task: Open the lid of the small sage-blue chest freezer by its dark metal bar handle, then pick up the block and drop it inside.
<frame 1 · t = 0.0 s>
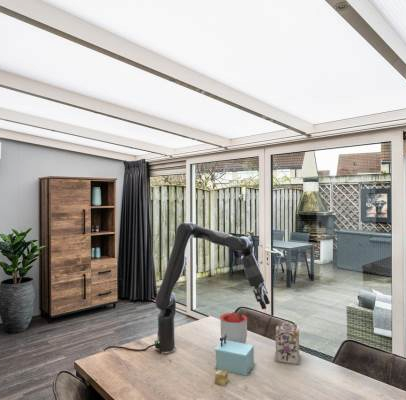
hand: (266, 306, 162), 31 cm above the table, tool tilted 20°, fingers open, 8 cm apart
chest freezer: (235, 366, 166), on the table
decorative jar: (287, 358, 174), on the table
freezer lid: (234, 343, 167), point 12 cm above the table, hinge at 0.0°
citrus juicer: (234, 346, 190), on the table
block: (221, 382, 151), on the table
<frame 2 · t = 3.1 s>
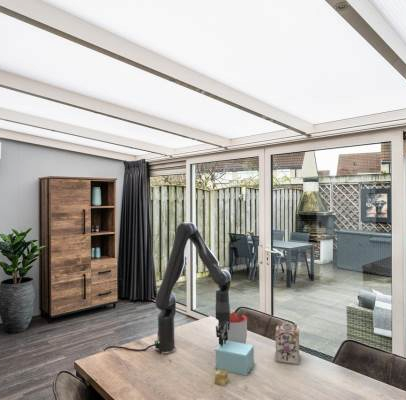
hand: (223, 342, 169), 11 cm above the table, tool pointing down, fingers closed on freezer lid, 5 cm apart
freezer lid: (234, 343, 167), point 12 cm above the table, hinge at 0.0°, touching gripper
everything else where it was.
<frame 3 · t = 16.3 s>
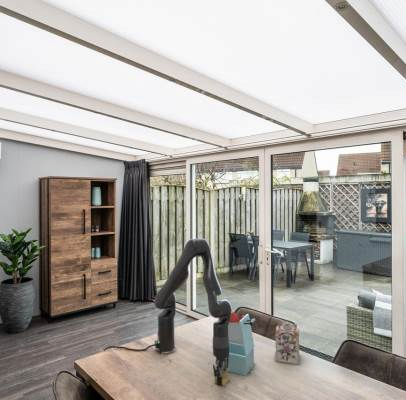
hand: (221, 381, 151), 0 cm above the table, tool pointing down, fingers closed on block, 4 cm apart
freezer lid: (251, 334, 162), point 18 cm above the table, hinge at 80.5°
block: (221, 382, 151), on the table, touching gripper
everything else where it was.
when the fingers open (12 cm above the table, at t = 24.5 s): block drops 11 cm, resting on chest freezer.
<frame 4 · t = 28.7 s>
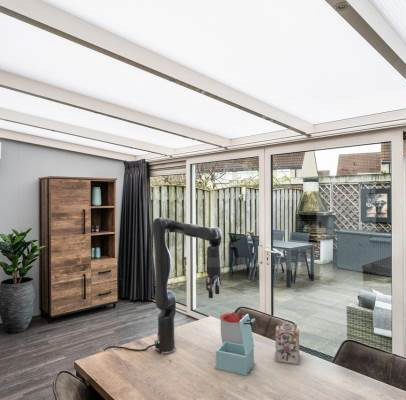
hand: (214, 296, 172), 34 cm above the table, tool pointing down, fingers open, 8 cm apart
block: (232, 364, 167), point 1 cm above the table, touching chest freezer
everything else where it was.
at the end: freezer lid at +80° (first picture: +0°); block inside the target area in the chest freezer (1.5 cm from its centre), point 0.8 cm above the chest freezer's base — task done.
